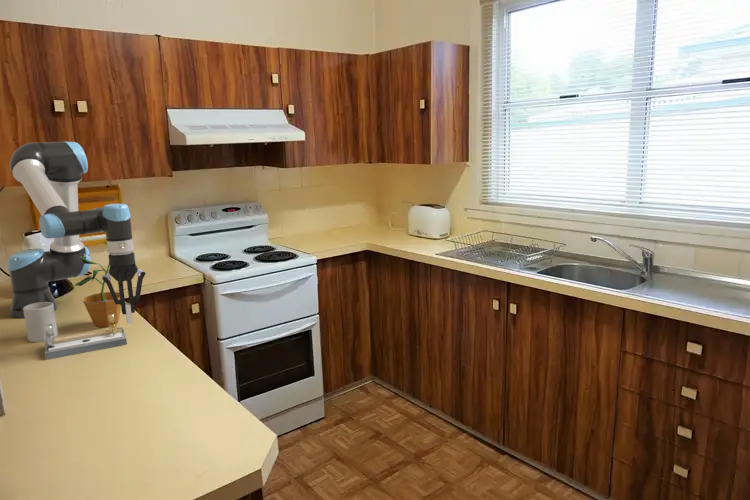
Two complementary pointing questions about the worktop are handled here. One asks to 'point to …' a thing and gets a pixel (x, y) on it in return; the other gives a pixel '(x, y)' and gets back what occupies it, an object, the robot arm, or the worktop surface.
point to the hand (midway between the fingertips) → (129, 322)
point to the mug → (39, 320)
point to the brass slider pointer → (112, 323)
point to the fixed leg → (49, 334)
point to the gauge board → (85, 343)
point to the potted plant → (100, 301)
